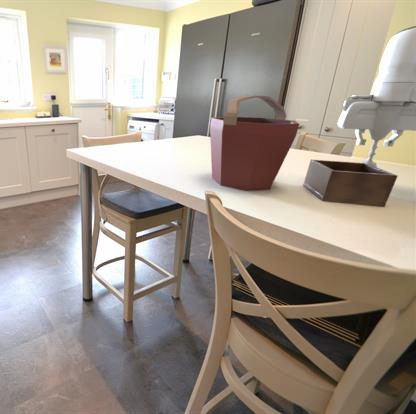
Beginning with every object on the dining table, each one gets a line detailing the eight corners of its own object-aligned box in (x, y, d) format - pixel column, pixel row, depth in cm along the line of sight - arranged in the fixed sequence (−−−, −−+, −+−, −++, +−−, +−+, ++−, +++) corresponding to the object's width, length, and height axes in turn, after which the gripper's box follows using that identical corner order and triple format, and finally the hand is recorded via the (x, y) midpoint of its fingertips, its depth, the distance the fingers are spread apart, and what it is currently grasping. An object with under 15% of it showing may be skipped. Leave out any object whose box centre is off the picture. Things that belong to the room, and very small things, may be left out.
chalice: (379, 174, 80) (403, 106, 74) (349, 170, 85) (368, 106, 78) (383, 169, 85) (406, 106, 78) (354, 166, 89) (373, 105, 83)
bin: (355, 190, 82) (365, 163, 79) (384, 206, 70) (398, 175, 67) (303, 185, 86) (310, 159, 83) (322, 200, 73) (331, 170, 70)
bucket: (225, 195, 76) (244, 95, 67) (186, 173, 96) (197, 94, 87) (301, 190, 81) (329, 97, 71) (249, 170, 101) (266, 95, 91)
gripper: (352, 94, 77) (337, 145, 82) (447, 94, 72) (424, 149, 77) (341, 94, 83) (327, 142, 88) (428, 94, 78) (408, 145, 83)
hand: (373, 145), depth 82 cm, fingers closed on chalice, 5 cm apart
